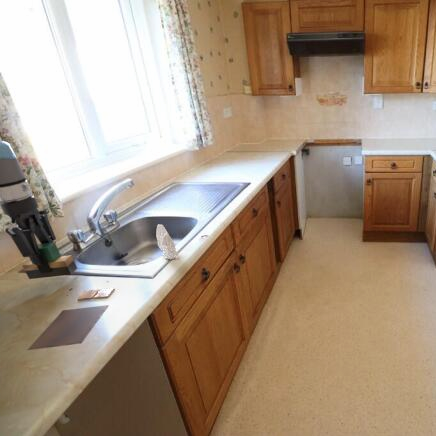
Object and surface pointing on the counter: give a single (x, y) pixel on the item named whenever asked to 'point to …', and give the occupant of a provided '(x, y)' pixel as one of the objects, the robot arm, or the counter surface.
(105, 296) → the tan wooden block
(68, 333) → the tray
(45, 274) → the brush
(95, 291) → the tan flat block
